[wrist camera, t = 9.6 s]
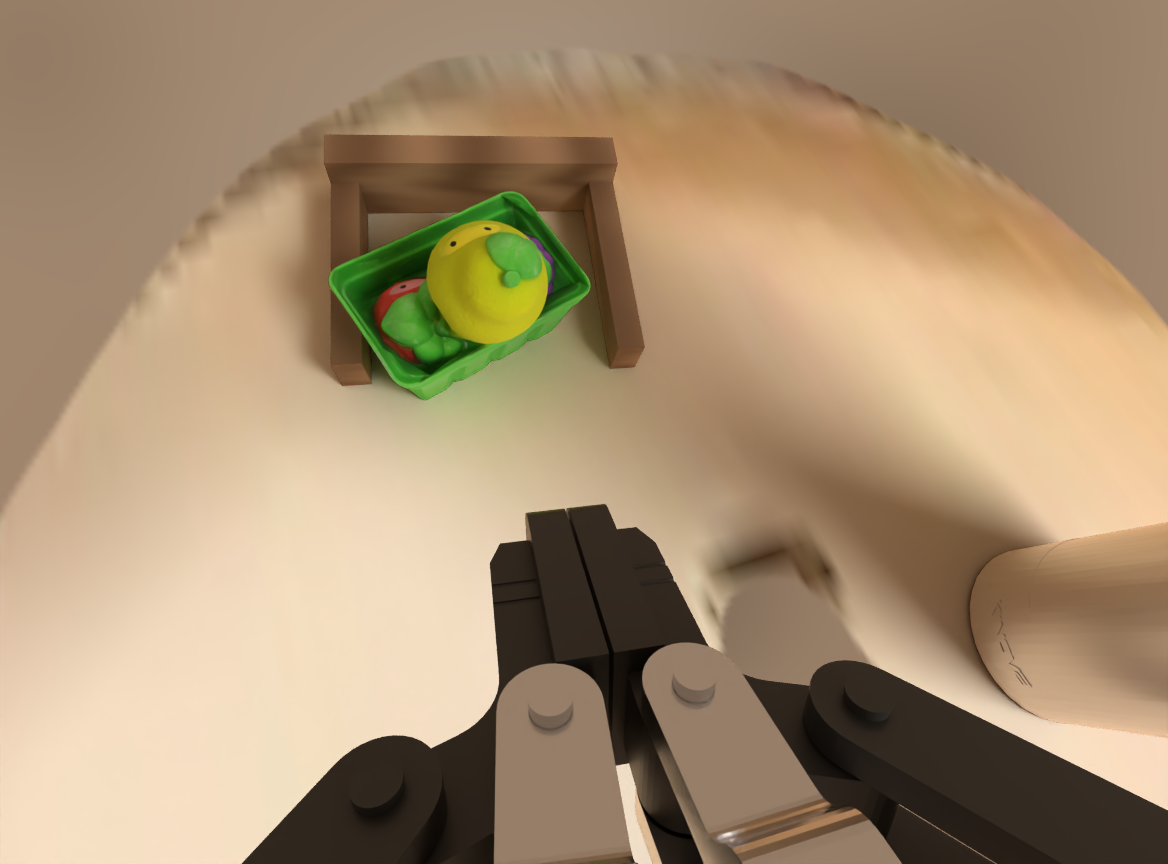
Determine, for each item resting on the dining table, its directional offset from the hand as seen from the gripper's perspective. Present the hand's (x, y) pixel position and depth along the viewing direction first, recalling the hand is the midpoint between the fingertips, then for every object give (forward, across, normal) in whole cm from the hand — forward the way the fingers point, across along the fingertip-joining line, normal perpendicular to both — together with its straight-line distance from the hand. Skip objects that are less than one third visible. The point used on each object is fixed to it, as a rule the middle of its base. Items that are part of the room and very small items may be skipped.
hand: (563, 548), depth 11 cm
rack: (+28, 0, 0) cm, 28 cm away
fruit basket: (+25, +1, +3) cm, 25 cm away
